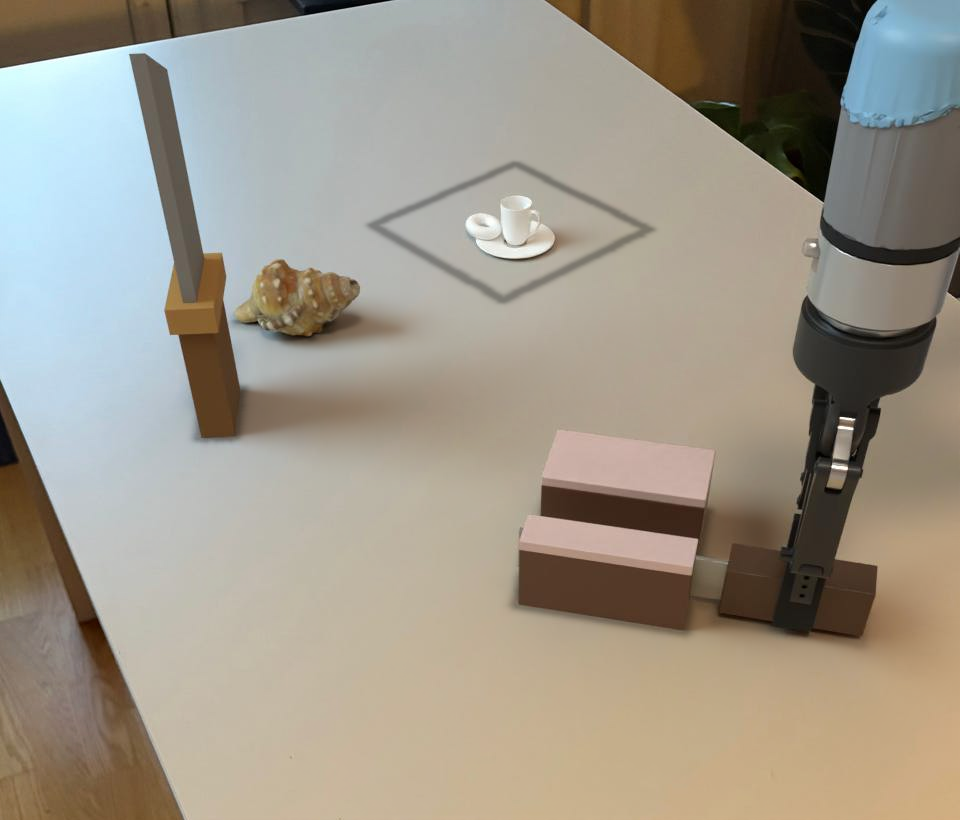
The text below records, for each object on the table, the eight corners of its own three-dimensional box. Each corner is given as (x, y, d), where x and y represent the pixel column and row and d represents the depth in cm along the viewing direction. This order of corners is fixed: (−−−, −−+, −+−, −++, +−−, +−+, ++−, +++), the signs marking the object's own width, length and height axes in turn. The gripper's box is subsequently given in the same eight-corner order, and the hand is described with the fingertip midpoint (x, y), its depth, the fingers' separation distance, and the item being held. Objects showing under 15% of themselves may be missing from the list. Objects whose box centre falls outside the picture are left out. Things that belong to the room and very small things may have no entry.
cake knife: (864, 607, 87) (877, 565, 84) (862, 636, 85) (876, 594, 82) (523, 552, 91) (524, 510, 88) (513, 578, 89) (514, 536, 86)
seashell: (331, 327, 119) (369, 251, 111) (319, 386, 115) (357, 311, 107) (241, 287, 116) (273, 206, 108) (224, 346, 112) (256, 266, 104)
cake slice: (688, 602, 88) (698, 538, 84) (682, 630, 86) (692, 567, 82) (526, 577, 90) (528, 513, 86) (518, 604, 88) (518, 541, 84)
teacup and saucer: (454, 238, 123) (453, 199, 120) (512, 213, 127) (512, 173, 124) (512, 271, 119) (513, 231, 116) (571, 243, 122) (572, 204, 119)
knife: (239, 443, 102) (164, 57, 79) (195, 445, 102) (106, 60, 79) (246, 385, 107) (177, 9, 84) (204, 387, 107) (123, 11, 84)
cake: (705, 513, 95) (716, 449, 90) (696, 563, 91) (706, 499, 87) (555, 492, 97) (557, 428, 92) (539, 540, 93) (541, 476, 89)
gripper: (813, 228, 74) (753, 528, 92) (791, 374, 64) (728, 678, 82) (940, 242, 73) (854, 543, 91) (938, 392, 63) (841, 698, 81)
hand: (794, 607), depth 86 cm, fingers closed on cake knife, 3 cm apart
